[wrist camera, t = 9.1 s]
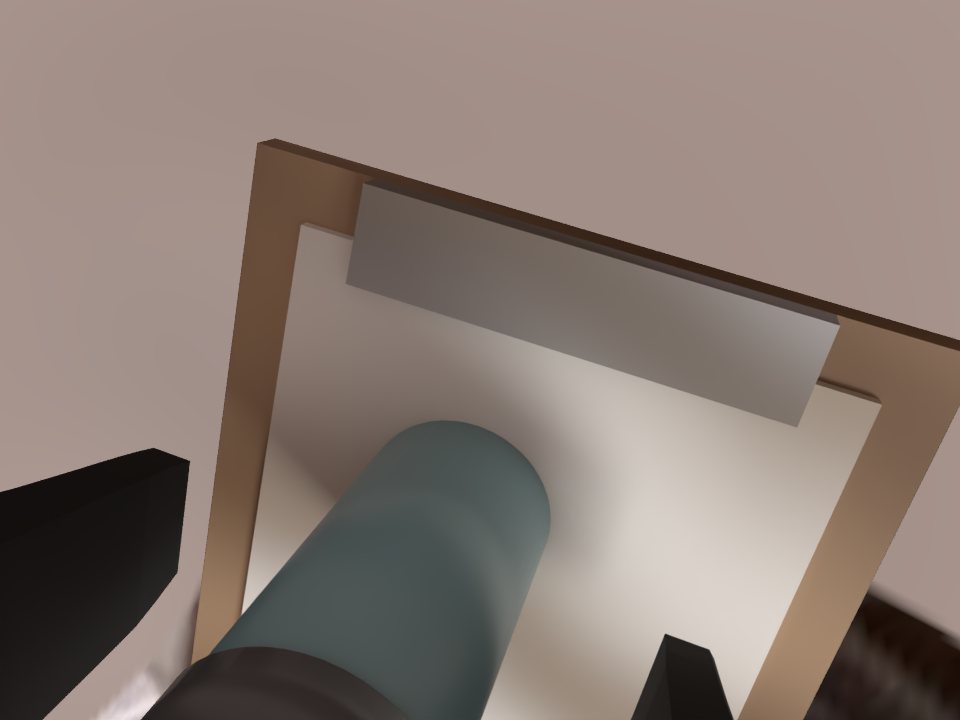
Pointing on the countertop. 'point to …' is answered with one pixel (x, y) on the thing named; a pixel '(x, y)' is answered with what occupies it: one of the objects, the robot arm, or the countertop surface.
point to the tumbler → (388, 593)
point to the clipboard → (574, 428)
